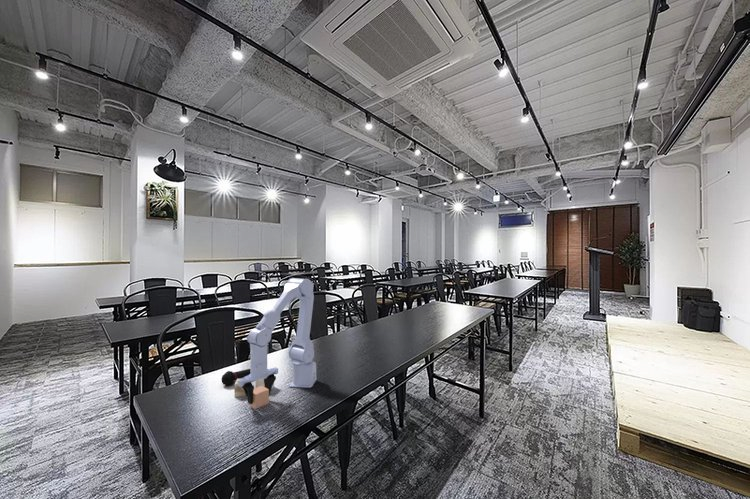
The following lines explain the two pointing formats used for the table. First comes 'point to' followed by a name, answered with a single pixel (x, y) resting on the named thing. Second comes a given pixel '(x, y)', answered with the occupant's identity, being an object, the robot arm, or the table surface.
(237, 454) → the table surface
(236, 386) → the birch block
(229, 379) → the microphone
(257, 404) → the peach block
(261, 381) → the white block
